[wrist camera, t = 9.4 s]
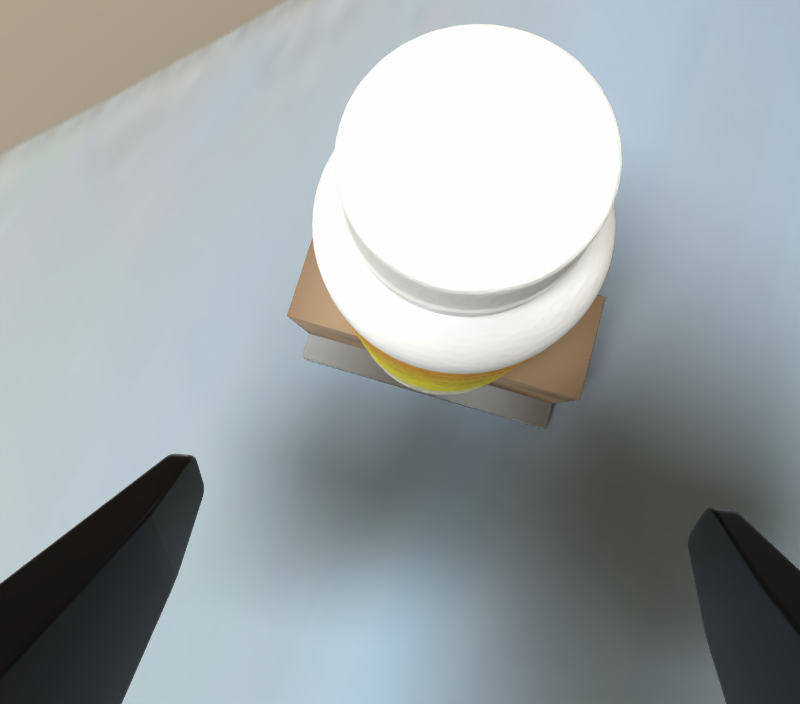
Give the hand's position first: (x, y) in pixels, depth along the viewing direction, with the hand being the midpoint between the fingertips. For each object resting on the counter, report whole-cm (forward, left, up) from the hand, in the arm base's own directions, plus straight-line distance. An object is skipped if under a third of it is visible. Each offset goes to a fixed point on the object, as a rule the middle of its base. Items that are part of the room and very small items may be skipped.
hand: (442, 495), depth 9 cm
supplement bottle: (+5, +1, -8) cm, 9 cm away
